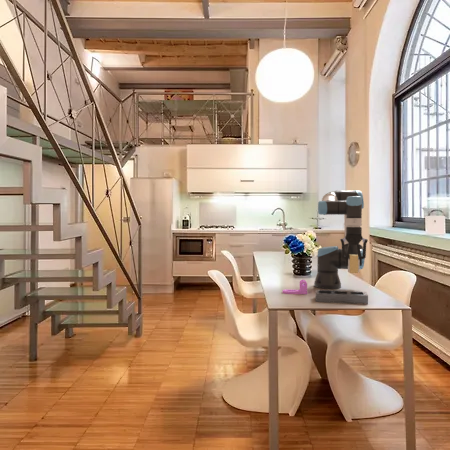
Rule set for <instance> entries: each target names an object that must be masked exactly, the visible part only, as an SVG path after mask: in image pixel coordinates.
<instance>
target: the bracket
mask: <svg viewBox="0 0 450 450" xmlns="http://www.w3.org/2000/svg"><path fill="white" fill-rule="evenodd" d="M281 293H282V294H284V295H285V294H286V295H287V294H288V295H308V282H307V281H306V280H305V279H300V280H299V289H286V288H285V289H282V291H281Z"/></svg>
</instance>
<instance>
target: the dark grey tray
mask: <svg viewBox="0 0 450 450" xmlns="http://www.w3.org/2000/svg"><path fill="white" fill-rule="evenodd" d="M315 302H318V303H337V304H338V303H339V304H341V303H342V304H357V303H366V304H365V305H368V304H369V295H368V293H367V291H354V290H351V291H350V290H331V289H329V290H328V289H327V290H326V289H324V290H323V289H315Z"/></svg>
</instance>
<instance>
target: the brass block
mask: <svg viewBox="0 0 450 450" xmlns="http://www.w3.org/2000/svg"><path fill="white" fill-rule="evenodd" d="M349 259H350V272H349V274H359V272H358V255H349Z"/></svg>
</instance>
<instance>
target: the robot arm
mask: <svg viewBox="0 0 450 450" xmlns="http://www.w3.org/2000/svg"><path fill="white" fill-rule="evenodd" d="M364 207H365V203H364V195H363V192H362V191H361V190H357V189H356V190H355V189H353V190H332V191H329V192H328V193H324V195H323V196H322V198H321V200H319V201H318V203H317V214H318V215H323V216H327V215H329V216H330V215H331V216H332V215H333V216H334V215H335V216H336V215H339V216H340V215H343V216H344V217H343V218H344V223H343V224H344V237H343V238H340V239H339V240H340V242H341V248H339V246H337V245H334V246H333V245H332V246H323V247H319V248H318V250H317V255H316V257H317V267H316V269H317V273H316V275H315V279H314V282H313V283H314V284H313V286H314V287H315V288H319V289H324V290H326V289H327V290H328V289H329V290H331V289H332V290H333V289H335V290H336V289H340V288H342V283H341V278H340V275H339V270H347V272H348V273H350V259H349V255H358V273H360V270H363V269H364V268H365V259H366V257H367V243H368V239H367V238H364V237H363V235H362V233H363V230H362V229H363V228H362V225H363V223H362V222H363V220H362V215H363V213H362V212H363V211H362V210H363V209H364ZM361 242H362V244H361Z"/></svg>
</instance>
